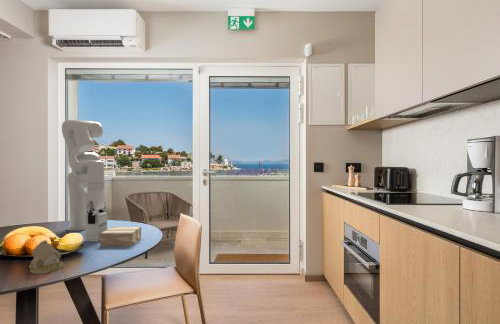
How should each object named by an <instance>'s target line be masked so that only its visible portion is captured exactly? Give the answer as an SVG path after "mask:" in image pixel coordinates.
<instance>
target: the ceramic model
mask: <svg viewBox="0 0 500 324" xmlns="http://www.w3.org/2000/svg"><path fill="white" fill-rule="evenodd" d="M31 256H32V257H33V259H32V260H31V261H30V263H29V266H28V268H29V273H31V274H38V275H39V274H41V275H42V274H47V273H51V272H55V271H58V270H61V269H63V268H64V266H65V265H64V262H63V260H60V259H61V257H62V256H61V254H60V252H59V251H58V250H57V249H56V248H54V246H53V245H52V244H51V243H49V242H48V240H43V241H40V242H39V244H37V245H36V246H35V247H34V249H33V250H32V252H31Z"/></svg>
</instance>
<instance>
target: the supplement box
mask: <svg viewBox="0 0 500 324" xmlns="http://www.w3.org/2000/svg"><path fill="white" fill-rule="evenodd" d="M94 215H95V224H88V216H87V214H86V215H85V230H84V241H85V242H101V234H100V233H102V232H104V231H106V230H107V229H108V212H105V213H98V211H95V214H94Z"/></svg>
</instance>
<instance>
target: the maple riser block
mask: <svg viewBox="0 0 500 324" xmlns="http://www.w3.org/2000/svg"><path fill="white" fill-rule="evenodd" d="M100 234H101V240H100V246H101V247H132V246H134V245H135V244H136V243H138V242H139V240H141V239H142V226H110V227H109V228H107V230H106V231H104V232H102V233H100Z"/></svg>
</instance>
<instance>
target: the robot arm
mask: <svg viewBox="0 0 500 324" xmlns="http://www.w3.org/2000/svg"><path fill="white" fill-rule="evenodd" d="M103 131H104V129H103V125H101V123H100V122H98V121H94V120H79V119H78V120H77V119H68V120H65V121H63V122H62V124H61V134H62V138H63V139H64V141H65V145H66V147H67V148H66V149H67V159H68V164H69V168H70V169H71V172H70V173H68V174H67V176H66V181H67V182H66V183H67V187H68V196H69V197H68V198H69V201H68V202H69V204H68V205H69V206H68V207H69V226H66V231H69V232H70V231H71V232H72V231H73V232H76V231H78V232H79V231H85V215H86V214H87V216H88V224H95V215H94V214H95V212H98V213H106V211H105V209H106V202H105V201H106V200H105V199H106V198H105V163H104V161H103V160H101V159H100V156H99V154H98V153H96V152H94V151H92V150H93V149H94V148H95V141H94V138H98V139H99V138H101V137H102V136H103V134H104V132H103ZM91 151H92V152H91ZM84 189H87V190H86V191H85V190H84Z"/></svg>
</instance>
